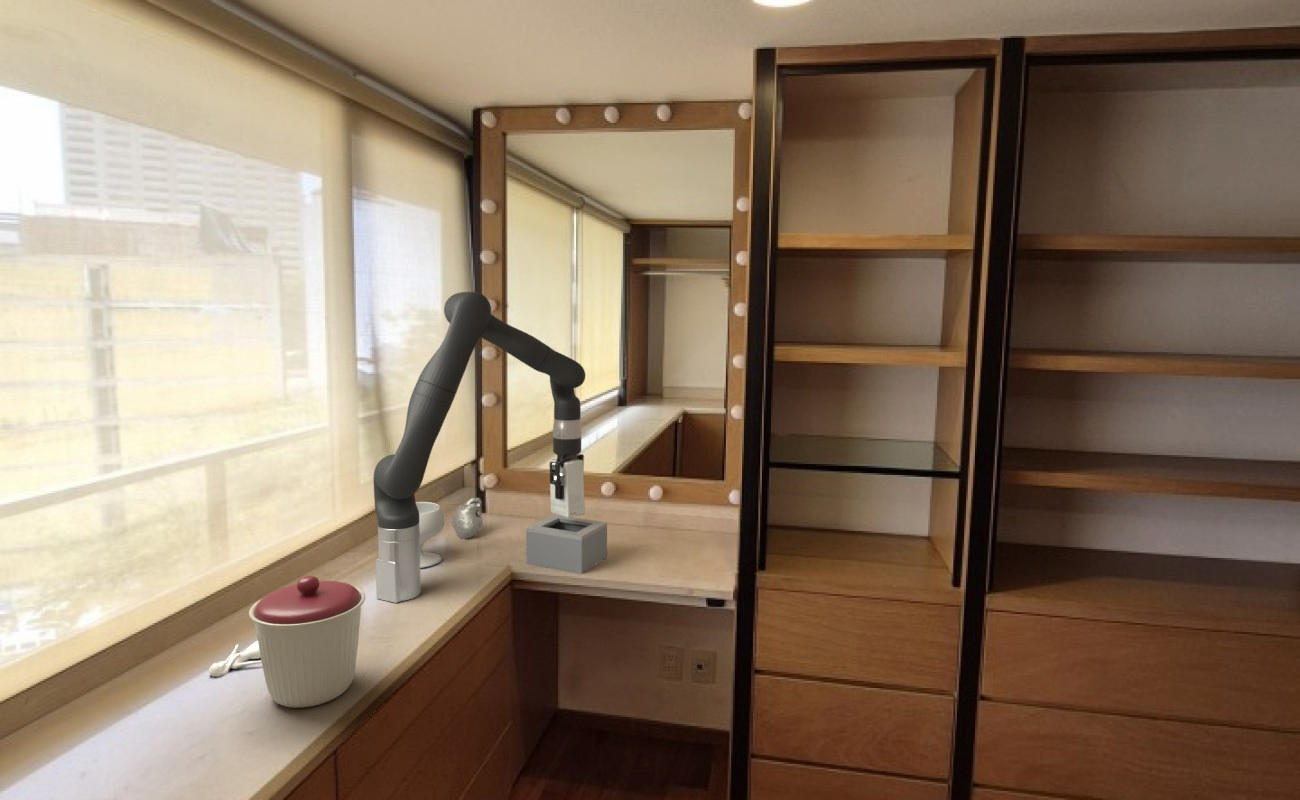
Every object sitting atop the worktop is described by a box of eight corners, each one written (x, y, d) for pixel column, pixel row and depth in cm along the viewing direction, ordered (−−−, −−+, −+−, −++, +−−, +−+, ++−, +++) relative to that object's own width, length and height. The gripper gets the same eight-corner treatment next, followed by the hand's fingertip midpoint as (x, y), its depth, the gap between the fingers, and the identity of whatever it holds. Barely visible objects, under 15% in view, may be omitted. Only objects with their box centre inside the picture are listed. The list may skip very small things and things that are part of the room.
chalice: (379, 567, 185) (377, 512, 183) (410, 551, 198) (409, 498, 197) (426, 573, 181) (424, 517, 180) (455, 556, 195) (454, 503, 193)
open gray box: (581, 574, 183) (581, 536, 182) (526, 563, 190) (526, 527, 189) (606, 557, 196) (607, 522, 195) (554, 548, 203) (554, 514, 202)
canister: (314, 730, 113) (308, 604, 110) (228, 709, 119) (221, 588, 116) (389, 677, 130) (386, 566, 127) (311, 660, 136) (307, 554, 133)
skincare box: (585, 514, 190) (585, 460, 189) (567, 518, 186) (567, 463, 184) (566, 508, 196) (566, 455, 195) (548, 512, 192) (548, 458, 190)
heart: (450, 530, 217) (449, 494, 214) (481, 527, 220) (481, 492, 216) (451, 545, 208) (450, 508, 204) (484, 543, 211) (484, 506, 207)
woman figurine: (317, 625, 141) (227, 670, 125) (319, 646, 142) (230, 693, 126) (280, 612, 146) (190, 654, 131) (282, 632, 147) (193, 676, 132)
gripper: (565, 440, 181) (565, 503, 183) (592, 432, 194) (592, 491, 196) (540, 438, 184) (540, 500, 186) (568, 430, 197) (568, 488, 199)
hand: (567, 495), depth 191 cm, fingers closed on skincare box, 7 cm apart
